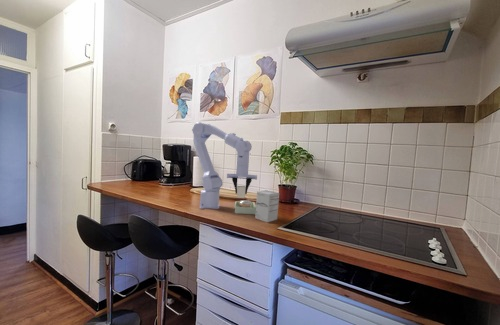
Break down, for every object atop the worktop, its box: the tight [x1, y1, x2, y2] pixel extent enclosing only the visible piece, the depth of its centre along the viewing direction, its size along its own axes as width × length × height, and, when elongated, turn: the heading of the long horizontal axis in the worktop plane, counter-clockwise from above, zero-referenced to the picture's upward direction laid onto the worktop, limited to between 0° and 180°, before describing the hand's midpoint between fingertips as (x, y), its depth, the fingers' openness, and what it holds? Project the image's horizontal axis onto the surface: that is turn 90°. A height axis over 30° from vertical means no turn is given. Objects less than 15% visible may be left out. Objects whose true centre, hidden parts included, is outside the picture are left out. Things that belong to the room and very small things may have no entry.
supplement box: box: [254, 189, 280, 223], centre depth 104 cm, size 7×7×13 cm
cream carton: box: [236, 185, 246, 199], centre depth 113 cm, size 4×4×5 cm
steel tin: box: [239, 199, 252, 207], centre depth 118 cm, size 6×6×4 cm
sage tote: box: [234, 200, 256, 215], centre depth 117 cm, size 10×12×4 cm
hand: (241, 193), depth 113 cm, fingers closed on cream carton, 4 cm apart
